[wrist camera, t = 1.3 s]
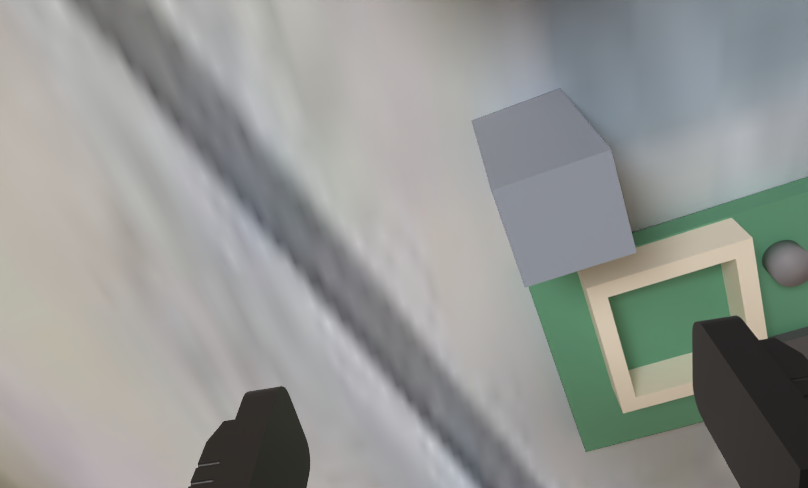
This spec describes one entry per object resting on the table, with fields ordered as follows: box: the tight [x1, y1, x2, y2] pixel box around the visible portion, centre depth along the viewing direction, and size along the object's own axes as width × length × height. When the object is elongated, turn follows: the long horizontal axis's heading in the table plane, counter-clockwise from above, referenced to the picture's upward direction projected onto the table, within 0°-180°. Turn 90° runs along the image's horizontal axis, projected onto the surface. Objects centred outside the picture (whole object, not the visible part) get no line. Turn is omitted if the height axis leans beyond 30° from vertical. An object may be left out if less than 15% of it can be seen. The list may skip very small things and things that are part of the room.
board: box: [529, 177, 808, 452], centre depth 31 cm, size 14×12×3 cm
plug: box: [472, 89, 637, 287], centre depth 25 cm, size 4×5×8 cm
